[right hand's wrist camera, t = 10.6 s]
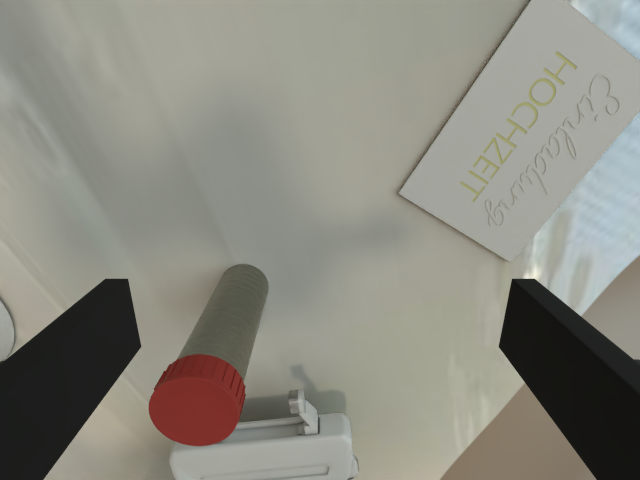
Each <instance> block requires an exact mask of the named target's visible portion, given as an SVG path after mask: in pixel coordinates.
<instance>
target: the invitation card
mask: <svg viewBox="0 0 640 480" xmlns="http://www.w3.org/2000/svg"><path fill="white" fill-rule="evenodd" d="M639 112H640V61H639V60H638V59H637V58H635V57H634V56H633V55H632V54H631V53H629V52H628V51H627V50H626V49H624V48H623V47H622V46H621V45H619V44H618V43H617V42H616V41H615V40H613V39H612V38H611V37H610V36H608V35H607V34H606V33H605V32H603V31H602V30H601V29H600V28H599V27H597V26H596V25H595V24H594V23H592V22H591V21H590V20H589V19H587V18H586V17H585V16H584V15H583V14H581V13H580V12H579V11H578V10H576V9H575V8H574V7H573V6H572V5H570V4H569V3H568V2H567V1H565V0H530V2H529V3H528V4H527V6H526V7H525V9H524V10H523V12H522V13H521V15H520V16H519V18H518V19H517V21H516V22H515V23H514V25H513V26H512V28H511V29H510V31H509V32H508V34H507V35H506V37H505V38H504V39H503V41H502V42H501V44H500V45H499V47H498V48H497V50H496V51H495V53H494V54H493V55H492V57H491V58H490V60H489V61H488V63H487V64H486V66H485V67H484V69H483V70H482V71H481V73H480V74H479V76H478V77H477V79H476V80H475V82H474V83H473V85H472V86H471V87H470V89H469V90H468V92H467V93H466V95H465V96H464V98H463V99H462V101H461V102H460V104H459V105H458V106H457V108H456V109H455V111H454V112H453V114H452V115H451V117H450V118H449V120H448V121H447V122H446V124H445V125H444V127H443V128H442V130H441V131H440V133H439V134H438V136H437V137H436V138H435V140H434V141H433V143H432V144H431V146H430V147H429V149H428V150H427V152H426V153H425V154H424V156H423V157H422V159H421V160H420V162H419V163H418V165H417V166H416V168H415V169H414V170H413V172H412V173H411V175H410V176H409V178H408V179H407V181H406V182H405V184H404V185H403V187H402V188H401V189H400V191H399V192H398V194H400V195H401V196H403V197H405V198H406V199H408V200H409V201H411V202H413V203H414V204H416V205H418V206H419V207H421V208H422V209H424V210H426V211H427V212H429V213H431V214H432V215H434V216H435V217H437V218H439V219H440V220H442V221H444V222H445V223H447V224H448V225H450V226H452V227H453V228H455V229H457V230H458V231H460V232H461V233H463V234H465V235H466V236H468V237H470V238H471V239H473V240H474V241H476V242H478V243H479V244H481V245H483V246H484V247H486V248H487V249H489V250H491V251H492V252H494V253H496V254H497V255H499V256H500V257H502V258H504V259H505V260H507V261H509V262H510V263H511V262H512V261H513V260H514V258H515V257H516V256H517V255H518V254H519V252H520V251H521V250H522V249H523V248H524V247H525V245H526V244H527V243H528V242H529V241H530V240H531V238H532V237H533V236H534V235H535V234H536V232H537V231H538V230H539V229H540V228H541V227H542V225H543V224H544V223H545V222H546V221H547V220H548V218H549V217H550V216H551V215H552V214H553V213H554V211H555V210H556V209H557V208H558V207H559V205H560V204H561V203H562V202H563V201H564V200H565V198H566V197H567V196H568V195H569V194H570V193H571V191H572V190H573V189H574V188H575V187H576V186H577V184H578V183H579V182H580V181H581V180H582V178H583V177H584V176H585V175H586V174H587V173H588V171H589V170H590V169H591V168H592V167H593V166H594V164H595V163H596V162H597V161H598V160H599V158H600V157H601V156H602V155H603V154H604V153H605V151H606V150H607V149H608V148H609V147H610V146H611V144H612V143H613V142H614V141H615V140H616V139H617V137H618V136H619V135H620V134H621V133H622V131H623V130H624V129H625V128H626V127H627V126H628V124H629V123H630V122H631V121H632V120H633V119H634V117H635V116H636V115H637V114H638V113H639Z"/></svg>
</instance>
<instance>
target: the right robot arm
mask: <svg viewBox="0 0 640 480" xmlns="http://www.w3.org/2000/svg"><path fill="white" fill-rule="evenodd" d="M140 348H141V343H140V338H139V333H138V328H137V323H136V318H135V313H134V308H133V302H132V297H131V292H130V287H129V282H128V279H105V280H103V281H102V282H101V283H100V284H99V285H97V286H96V287H95V288H94V289H92V290H91V291H90V292H89V293H87V294H86V295H85V296H84V297H83V298H81V299H80V300H79V301H78V302H76V303H75V304H74V305H73V306H72V307H70V308H69V309H68V310H67V311H65V312H64V313H63V314H62V315H60V316H59V317H58V318H57V319H56V320H54V321H53V322H52V323H51V324H49V325H48V326H47V327H46V328H45V329H43V330H42V331H41V332H40V333H38V334H37V335H36V336H35V337H33V338H32V339H31V340H30V341H29V342H27V343H26V344H25V345H24V346H22V347H21V348H20V349H19V350H18V351H16V352H15V353H14V354H13V355H11V356H10V357H9V358H8V359H6V360H5V361H0V480H43V479H44V478H45V477H46V475H47V474H48V472H49V471H50V470H51V468H52V467H53V466H54V464H55V463H56V462H57V460H58V459H59V458H60V456H61V455H62V454H63V452H64V451H65V449H66V448H67V447H68V445H69V444H70V443H71V441H72V440H73V439H74V437H75V436H76V435H77V433H78V432H79V430H80V429H81V428H82V426H83V425H84V424H85V422H86V421H87V420H88V418H89V417H90V416H91V414H92V413H93V411H94V410H95V409H96V407H97V406H98V405H99V403H100V402H101V401H102V399H103V398H104V397H105V395H106V394H107V392H108V391H109V390H110V388H111V387H112V386H113V384H114V383H115V382H116V380H117V379H118V378H119V376H120V375H121V373H122V372H123V371H124V369H125V368H126V367H127V365H128V364H129V363H130V361H131V360H132V359H133V357H134V356H135V354H136V353H137V352H138V350H139V349H140ZM499 348H500V349H501V350H502V352H503V353H504V354H505V356H506V357H507V359H508V360H509V361H510V363H511V364H512V365H513V367H514V368H515V369H516V371H517V372H518V373H519V375H520V376H521V378H522V379H523V380H524V382H525V383H526V384H527V386H528V387H529V388H530V390H531V391H532V392H533V394H534V395H535V397H536V398H537V399H538V401H539V402H540V403H541V405H542V406H543V407H544V409H545V410H546V411H547V413H548V414H549V416H550V417H551V418H552V420H553V421H554V422H555V424H556V425H557V426H558V428H559V429H560V430H561V432H562V433H563V434H564V436H565V437H566V439H567V440H568V441H569V443H570V444H571V445H572V447H573V448H574V449H575V451H576V452H577V453H578V455H579V456H580V458H581V459H582V460H583V462H584V463H585V464H586V466H587V467H588V468H589V470H590V471H591V472H592V474H593V475H594V476H595V478H596V479H597V480H640V360H634V359H632V358H631V357H630V356H629V355H627V354H626V353H625V352H624V351H622V350H621V349H620V348H619V347H618V346H616V345H615V344H614V343H613V342H611V341H610V340H609V339H608V338H607V337H605V336H604V335H603V334H602V333H600V332H599V331H598V330H597V329H595V328H594V327H593V326H592V325H591V324H589V323H588V322H587V321H586V320H584V319H583V318H582V317H581V316H580V315H578V314H577V313H576V312H575V311H573V310H572V309H571V308H570V307H568V306H567V305H566V304H565V303H564V302H562V301H561V300H560V299H559V298H557V297H556V296H555V295H554V294H553V293H551V292H550V291H549V290H548V289H546V288H545V287H544V286H543V285H541V284H540V283H539V282H538V281H537V280H535V279H512V282H511V287H510V292H509V297H508V302H507V308H506V313H505V318H504V323H503V328H502V333H501V338H500V343H499Z"/></svg>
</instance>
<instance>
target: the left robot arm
mask: <svg viewBox="0 0 640 480" xmlns="http://www.w3.org/2000/svg"><path fill="white" fill-rule="evenodd" d="M13 344H14V327H13V323H12V320H11V317H10V315H9V313H8V311H7V309H6V308H5V306H4V305H3V303H2V302H1V301H0V361H3V360H5V359H6V357H7V356H8V355H9V353H10V352H11V350H12V347H13ZM289 406H290V412H291V414H297V413H299V415H300V416H299V417H289V418H279V419H269V420H259V421H249V422H239V423H237V426H236V428H235V429H234V431H233V432H232V433H231V434H230V435H229V436H228V437H227V438H226V439H224V440H222V441H221V442H218V443H216V444H212V445H208V446H189V445H185V444H181V443H178V442H176V441H174V443H173V445H172V448H171V450H170V454H169V465H170V468H171V471H172V473H173V476H174V478H175V480H351V479H353V478H354V477H357V475H358V472H359V466H358V460H357V458H356V456H355V455H354V454H353V451H352V435H351V426H350V419H349V418H348V417H347V416H346V415H344V414H343V413H340V412H339V413H329V414H319V415H318V414H317V410H316V409H315V408H314V407H313V406H312V405H311V404H310V403H309V402H308V401H307V400H305V397H304V392H303V389H300V390H291V391H289Z"/></svg>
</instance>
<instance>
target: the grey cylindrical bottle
mask: <svg viewBox="0 0 640 480" xmlns="http://www.w3.org/2000/svg"><path fill="white" fill-rule="evenodd" d="M267 293H268V282H267V279H266V277H265V275H264V274H263V273H262V272H261V271H260V270H259V269H257V268H255V267H253V266H250V265H236V266H233V267H231V268H230V269H228V270H227V271H226V272H225V273H224V275H223V277H222V278H221V280H220V282H219V284H218V286H217V287H216V289H215V291H214V293H213V295H212V297H211V298H210V300H209V302H208V304H207V306H206V308H205V309H204V311H203V313H202V315H201V317H200V318H199V320H198V322H197V324H196V326H195V328H194V329H193V331H192V333H191V335H190V337H189V339H188V340H187V342H186V344H185V346H184V348H183V349H182V351H181V353H180V355H179V357H178V359H180V358H182V357H185V356H187V355H195V354H205V355H211V356H215V357H218V358H220V359H222V360H224V361H226V362H228V363H229V364H230V365H232V366H233V367H234V368H235V369H236V370H237V371H238V373H239V374H240V376H241V377H242V378H243V379H242V380H243V382H244V379H245V375H246V371H247V368H248V364H249V360H250V356H251V353H252V349H253V345H254V341H255V338H256V334H257V330H258V327H259V323H260V319H261V315H262V312H263V308H264V304H265V300H266V297H267Z"/></svg>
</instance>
